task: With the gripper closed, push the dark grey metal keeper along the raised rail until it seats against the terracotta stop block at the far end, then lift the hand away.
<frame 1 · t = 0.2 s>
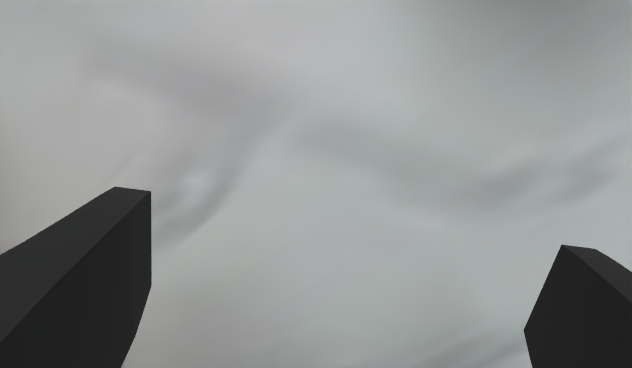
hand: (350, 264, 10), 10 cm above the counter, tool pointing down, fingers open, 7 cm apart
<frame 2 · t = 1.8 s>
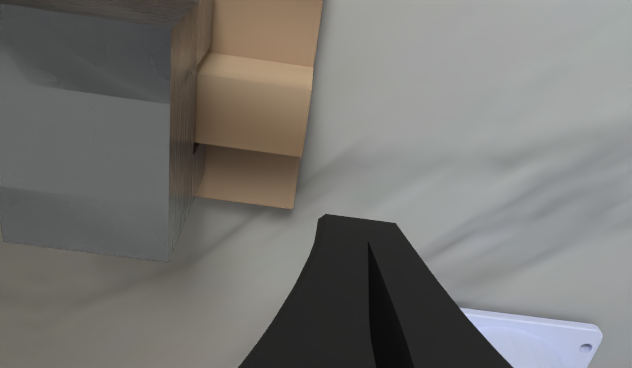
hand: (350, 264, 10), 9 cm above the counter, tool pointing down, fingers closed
keeper: (114, 107, 14), point 4 cm above the counter, slide at 0.0 cm
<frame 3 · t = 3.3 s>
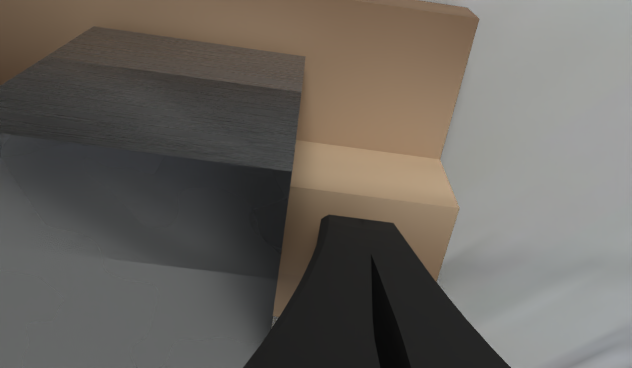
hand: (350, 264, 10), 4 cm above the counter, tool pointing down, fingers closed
keeper: (168, 238, 10), point 4 cm above the counter, slide at 0.2 cm, touching gripper
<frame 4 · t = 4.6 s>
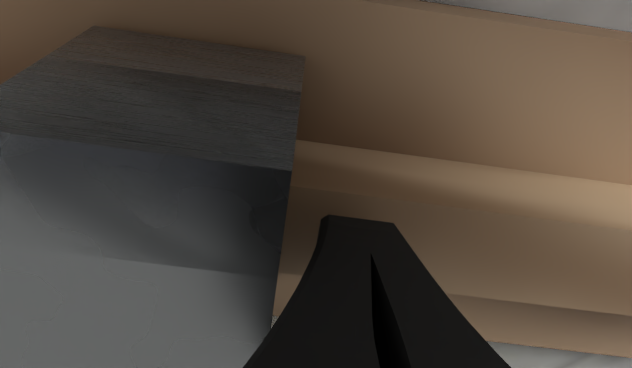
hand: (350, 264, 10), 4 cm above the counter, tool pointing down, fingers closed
keeper: (167, 237, 10), point 4 cm above the counter, slide at 7.6 cm, touching gripper
rail board: (316, 163, 13), on the counter
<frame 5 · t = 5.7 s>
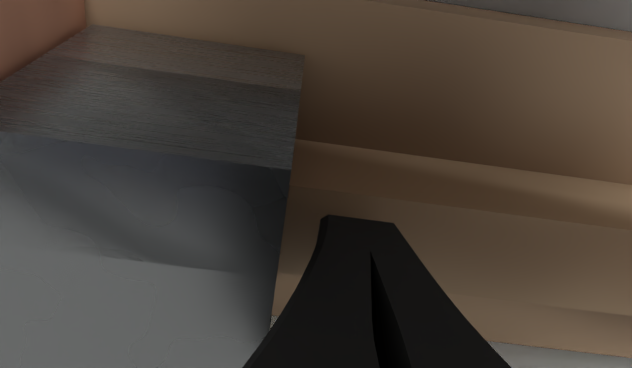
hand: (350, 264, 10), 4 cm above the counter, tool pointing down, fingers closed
keeper: (166, 236, 10), point 4 cm above the counter, slide at 11.3 cm, touching gripper
rail board: (466, 182, 13), on the counter
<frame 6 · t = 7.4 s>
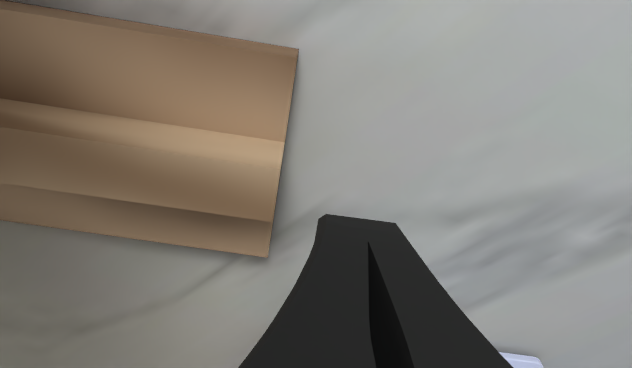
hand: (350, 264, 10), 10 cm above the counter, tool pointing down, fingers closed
rail board: (5, 112, 20), on the counter
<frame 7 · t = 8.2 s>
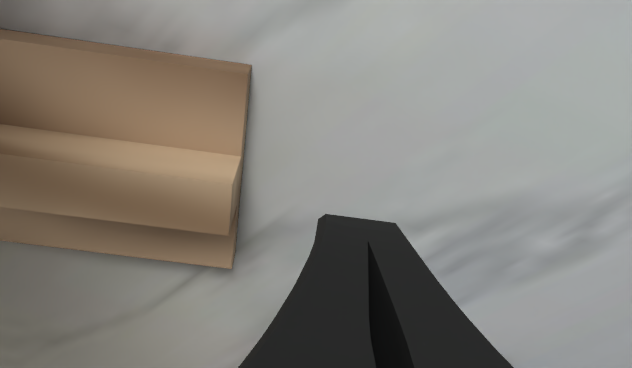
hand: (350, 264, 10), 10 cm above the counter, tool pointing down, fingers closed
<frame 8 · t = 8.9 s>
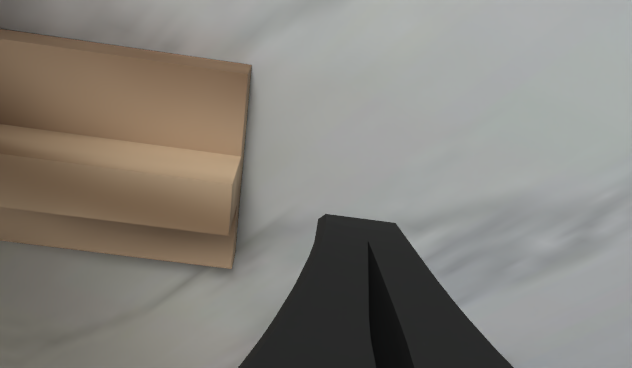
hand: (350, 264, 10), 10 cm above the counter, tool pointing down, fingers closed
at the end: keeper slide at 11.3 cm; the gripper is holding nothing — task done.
